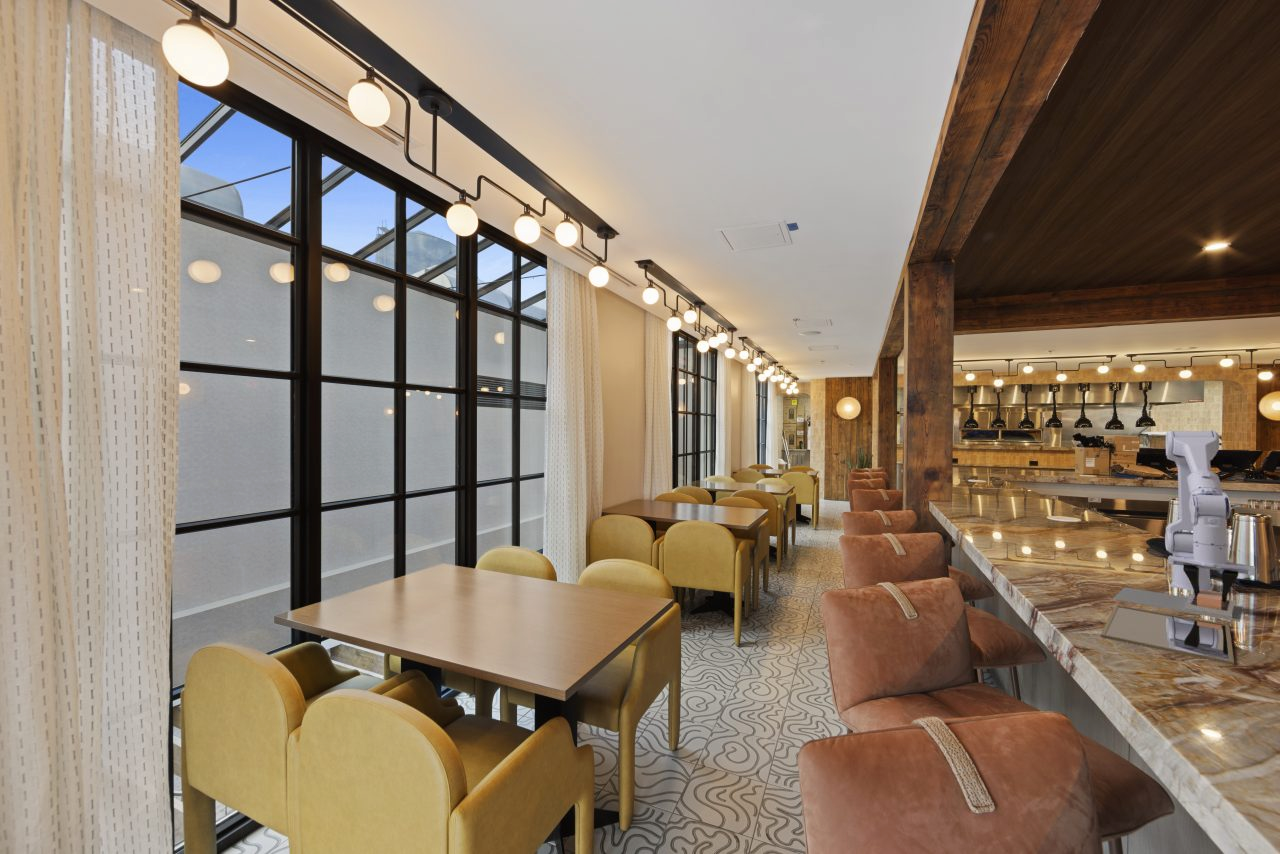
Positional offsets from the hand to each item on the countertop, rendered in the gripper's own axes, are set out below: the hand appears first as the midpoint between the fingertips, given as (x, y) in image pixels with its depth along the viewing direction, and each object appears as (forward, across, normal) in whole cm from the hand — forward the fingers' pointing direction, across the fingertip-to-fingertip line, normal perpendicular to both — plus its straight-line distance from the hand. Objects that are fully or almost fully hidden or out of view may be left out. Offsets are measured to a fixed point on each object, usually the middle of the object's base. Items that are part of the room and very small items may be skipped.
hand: (1210, 598), depth 132 cm
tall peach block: (+2, 0, 0) cm, 2 cm away
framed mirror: (+3, -5, -28) cm, 29 cm away
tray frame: (+3, 0, 0) cm, 3 cm away
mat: (+3, -6, 0) cm, 7 cm away
